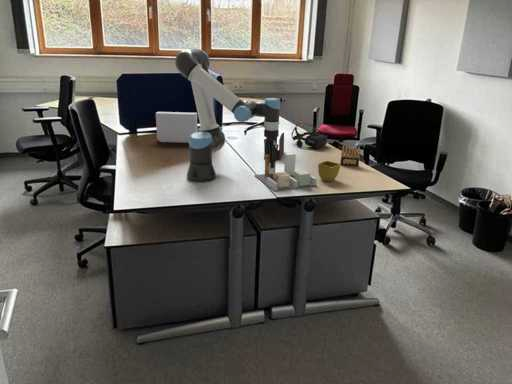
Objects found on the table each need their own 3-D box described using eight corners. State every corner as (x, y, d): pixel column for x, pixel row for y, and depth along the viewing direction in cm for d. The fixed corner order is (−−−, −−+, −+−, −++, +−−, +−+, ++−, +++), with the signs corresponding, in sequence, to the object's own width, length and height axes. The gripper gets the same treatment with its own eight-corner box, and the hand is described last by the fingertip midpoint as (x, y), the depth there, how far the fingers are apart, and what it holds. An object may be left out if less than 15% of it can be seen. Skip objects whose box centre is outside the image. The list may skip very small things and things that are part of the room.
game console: (196, 143, 291) (195, 114, 284) (157, 142, 292) (155, 113, 285) (198, 141, 297) (197, 112, 290) (159, 140, 297) (157, 111, 290)
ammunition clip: (358, 165, 250) (360, 146, 246) (358, 166, 249) (360, 146, 244) (340, 164, 252) (342, 144, 248) (340, 165, 251) (341, 145, 246)
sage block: (283, 175, 229) (284, 153, 225) (293, 173, 231) (294, 152, 227) (299, 186, 213) (300, 163, 209) (309, 184, 216) (311, 162, 211)
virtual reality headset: (314, 153, 280) (318, 131, 274) (285, 143, 292) (288, 122, 286) (328, 147, 294) (332, 126, 288) (299, 138, 306) (303, 118, 300)
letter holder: (283, 152, 275) (284, 130, 270) (280, 160, 257) (281, 138, 252) (268, 151, 276) (269, 130, 271) (263, 159, 258) (264, 137, 253)
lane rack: (254, 176, 229) (254, 168, 227) (293, 171, 238) (294, 164, 236) (274, 191, 207) (274, 184, 206) (316, 185, 216) (317, 178, 215)
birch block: (263, 176, 226) (264, 154, 222) (273, 175, 228) (274, 153, 224) (278, 187, 210) (279, 164, 206) (289, 186, 213) (290, 163, 208)
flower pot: (339, 180, 226) (341, 163, 222) (330, 184, 220) (332, 167, 216) (325, 176, 231) (326, 160, 228) (316, 179, 225) (317, 163, 222)
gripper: (284, 131, 211) (282, 176, 220) (271, 125, 225) (270, 167, 233) (271, 133, 209) (269, 178, 217) (258, 126, 222) (257, 169, 230)
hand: (269, 172), depth 225 cm, fingers closed on birch block, 2 cm apart
